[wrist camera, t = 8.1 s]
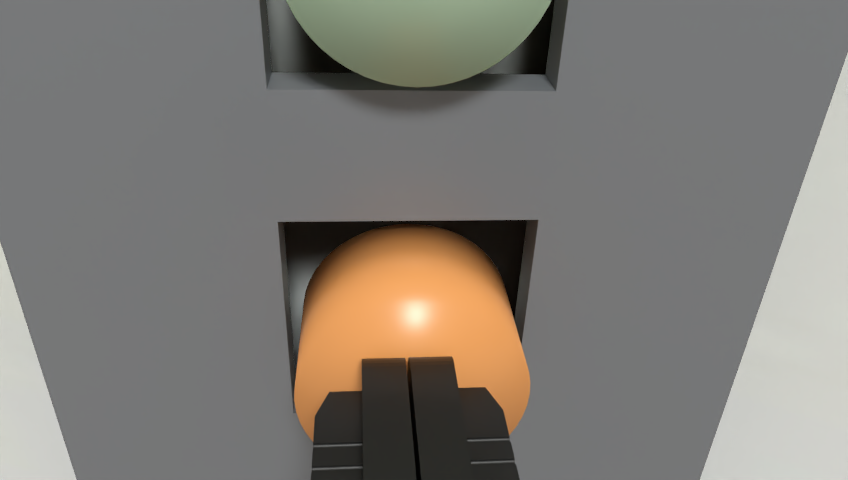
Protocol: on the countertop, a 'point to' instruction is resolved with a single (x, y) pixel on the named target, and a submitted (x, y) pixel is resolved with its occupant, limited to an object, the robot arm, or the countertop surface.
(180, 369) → the button box
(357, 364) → the orange button
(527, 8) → the green button
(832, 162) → the countertop surface
